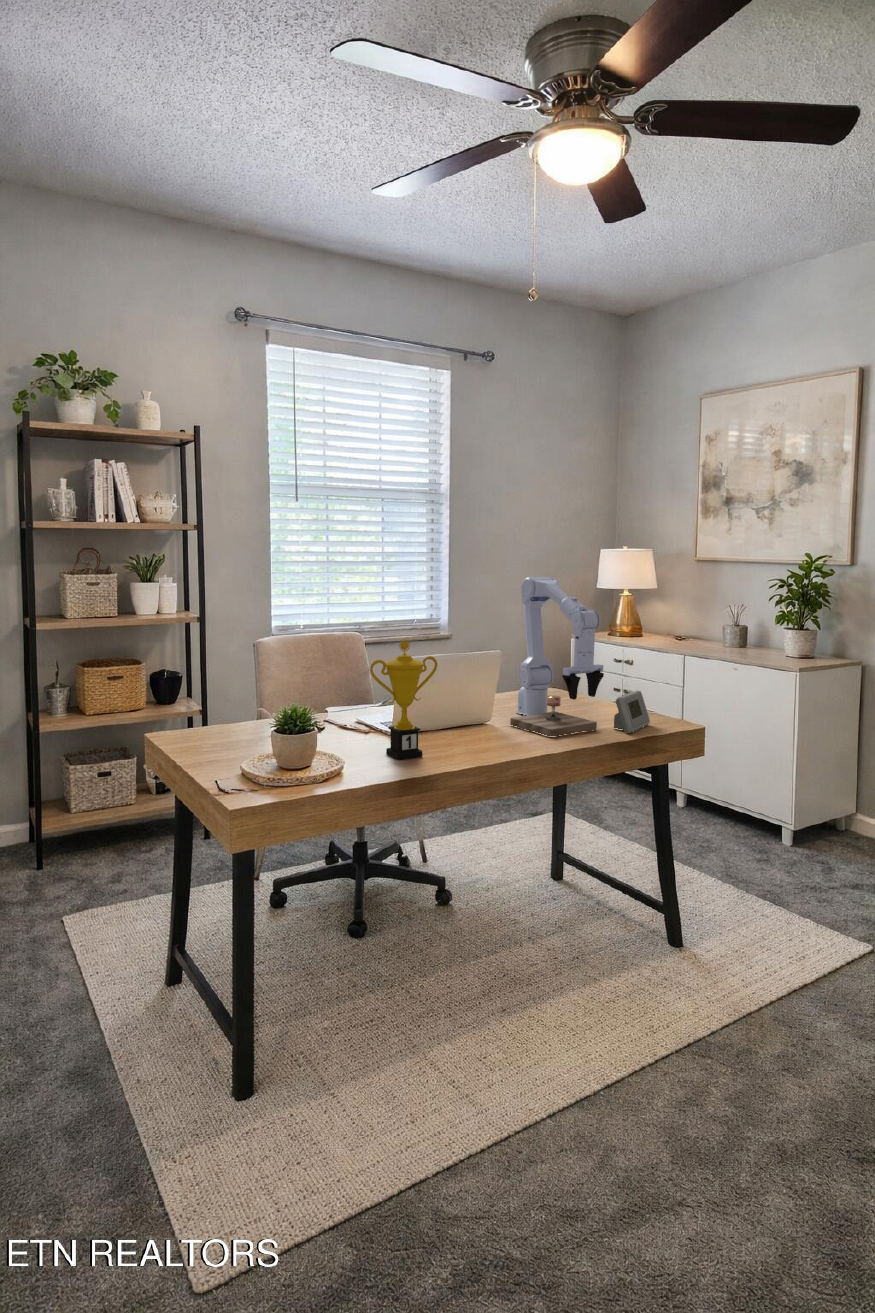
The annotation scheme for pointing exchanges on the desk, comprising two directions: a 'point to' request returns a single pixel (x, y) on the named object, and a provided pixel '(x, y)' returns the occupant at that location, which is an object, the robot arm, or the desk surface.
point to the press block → (553, 723)
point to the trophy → (404, 700)
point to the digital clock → (631, 712)
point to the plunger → (553, 703)
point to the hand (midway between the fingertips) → (582, 697)
